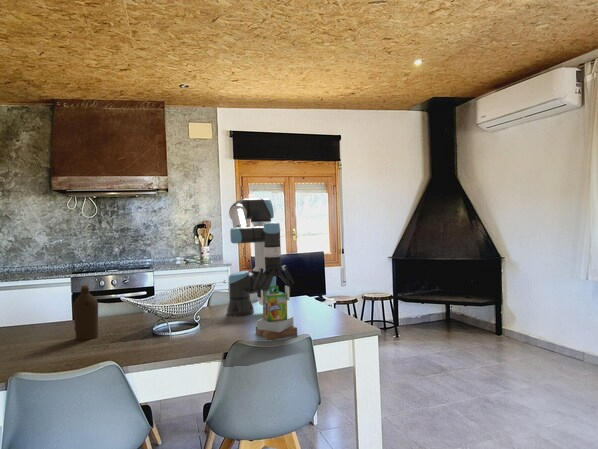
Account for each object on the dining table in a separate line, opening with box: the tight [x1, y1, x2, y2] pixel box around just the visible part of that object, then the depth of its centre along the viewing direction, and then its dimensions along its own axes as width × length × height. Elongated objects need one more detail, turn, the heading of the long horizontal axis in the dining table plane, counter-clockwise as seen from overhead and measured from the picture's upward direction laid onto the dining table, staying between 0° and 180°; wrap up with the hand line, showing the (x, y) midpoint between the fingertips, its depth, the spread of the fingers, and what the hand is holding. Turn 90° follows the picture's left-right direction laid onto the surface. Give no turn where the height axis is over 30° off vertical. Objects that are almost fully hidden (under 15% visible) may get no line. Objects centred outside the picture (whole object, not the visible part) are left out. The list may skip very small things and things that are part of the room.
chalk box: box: [262, 285, 288, 322], centre depth 183 cm, size 9×9×15 cm
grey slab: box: [256, 315, 295, 332], centre depth 184 cm, size 12×12×4 cm
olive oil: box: [72, 284, 99, 342], centre depth 190 cm, size 11×11×25 cm
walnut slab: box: [255, 325, 298, 341], centre depth 184 cm, size 14×14×4 cm
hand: (274, 302), depth 184 cm, fingers open, 13 cm apart
